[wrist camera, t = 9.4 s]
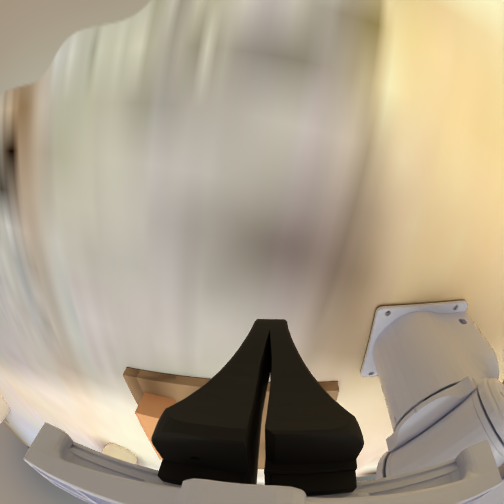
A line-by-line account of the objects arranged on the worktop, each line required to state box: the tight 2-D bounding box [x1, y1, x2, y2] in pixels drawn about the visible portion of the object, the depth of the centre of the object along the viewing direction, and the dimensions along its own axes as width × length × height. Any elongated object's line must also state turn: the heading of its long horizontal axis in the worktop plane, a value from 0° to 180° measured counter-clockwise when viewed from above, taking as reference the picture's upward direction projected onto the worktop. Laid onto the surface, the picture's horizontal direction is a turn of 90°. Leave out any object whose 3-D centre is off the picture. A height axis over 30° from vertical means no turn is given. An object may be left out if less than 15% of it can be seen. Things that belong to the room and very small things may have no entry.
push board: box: [123, 367, 339, 469], centre depth 29 cm, size 22×20×1 cm
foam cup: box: [101, 443, 137, 464], centre depth 33 cm, size 10×9×13 cm
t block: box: [135, 392, 175, 460], centre depth 27 cm, size 10×12×3 cm
